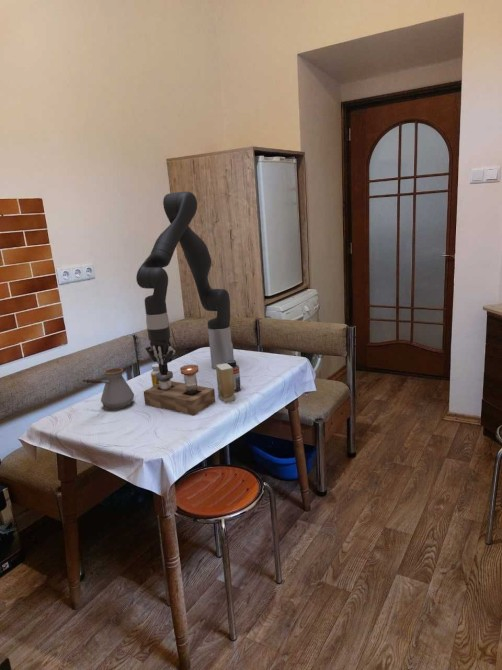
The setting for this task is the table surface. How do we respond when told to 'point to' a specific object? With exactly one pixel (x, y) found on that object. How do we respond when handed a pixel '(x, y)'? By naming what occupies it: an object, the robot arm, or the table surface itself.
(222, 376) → the skincare box
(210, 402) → the socket board
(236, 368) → the supplement bottle
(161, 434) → the table surface
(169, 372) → the plug grey
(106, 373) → the coffee pot
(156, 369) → the supplement bottle
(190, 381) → the plug rust
